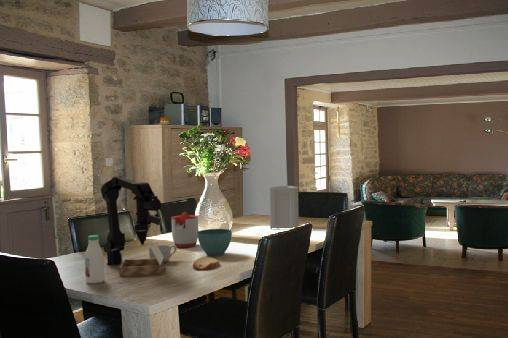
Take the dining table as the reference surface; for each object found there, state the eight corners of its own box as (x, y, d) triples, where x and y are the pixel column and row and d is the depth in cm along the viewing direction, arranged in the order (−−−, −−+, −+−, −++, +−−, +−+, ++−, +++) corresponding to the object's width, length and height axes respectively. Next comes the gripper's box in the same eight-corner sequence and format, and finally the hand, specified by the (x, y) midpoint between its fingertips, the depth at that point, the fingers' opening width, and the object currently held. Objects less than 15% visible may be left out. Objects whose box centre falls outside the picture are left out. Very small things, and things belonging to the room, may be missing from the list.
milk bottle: (106, 279, 237) (104, 234, 236) (101, 283, 230) (100, 237, 229) (88, 279, 237) (86, 234, 236) (83, 284, 230) (81, 237, 229)
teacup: (149, 265, 263) (149, 248, 263) (148, 260, 274) (147, 244, 273) (178, 262, 267) (178, 246, 267) (175, 258, 277) (175, 242, 277)
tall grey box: (303, 226, 370) (302, 186, 368) (296, 230, 356) (296, 187, 355) (277, 225, 377) (276, 185, 376) (269, 229, 363) (268, 187, 362)
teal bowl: (227, 258, 274) (226, 234, 273) (193, 257, 277) (192, 234, 277) (235, 251, 291) (235, 228, 291) (203, 250, 295) (202, 228, 294)
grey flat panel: (150, 247, 243) (151, 246, 243) (154, 241, 258) (155, 240, 258) (159, 264, 244) (160, 264, 244) (162, 257, 259) (163, 257, 259)
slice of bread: (208, 260, 273) (208, 253, 272) (230, 266, 259) (230, 258, 259) (178, 266, 261) (178, 258, 261) (200, 272, 247) (199, 264, 247)
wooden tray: (119, 276, 242) (119, 267, 242) (125, 267, 258) (124, 259, 258) (159, 274, 244) (159, 265, 243) (163, 266, 259) (162, 258, 259)
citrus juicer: (166, 249, 302) (165, 213, 301) (177, 243, 319) (176, 209, 318) (192, 249, 299) (191, 213, 298) (203, 243, 315) (202, 209, 314)
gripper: (158, 211, 243) (159, 245, 244) (161, 206, 262) (162, 238, 263) (133, 212, 242) (134, 247, 243) (137, 207, 261) (138, 239, 262)
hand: (143, 242), depth 253 cm, fingers open, 9 cm apart
